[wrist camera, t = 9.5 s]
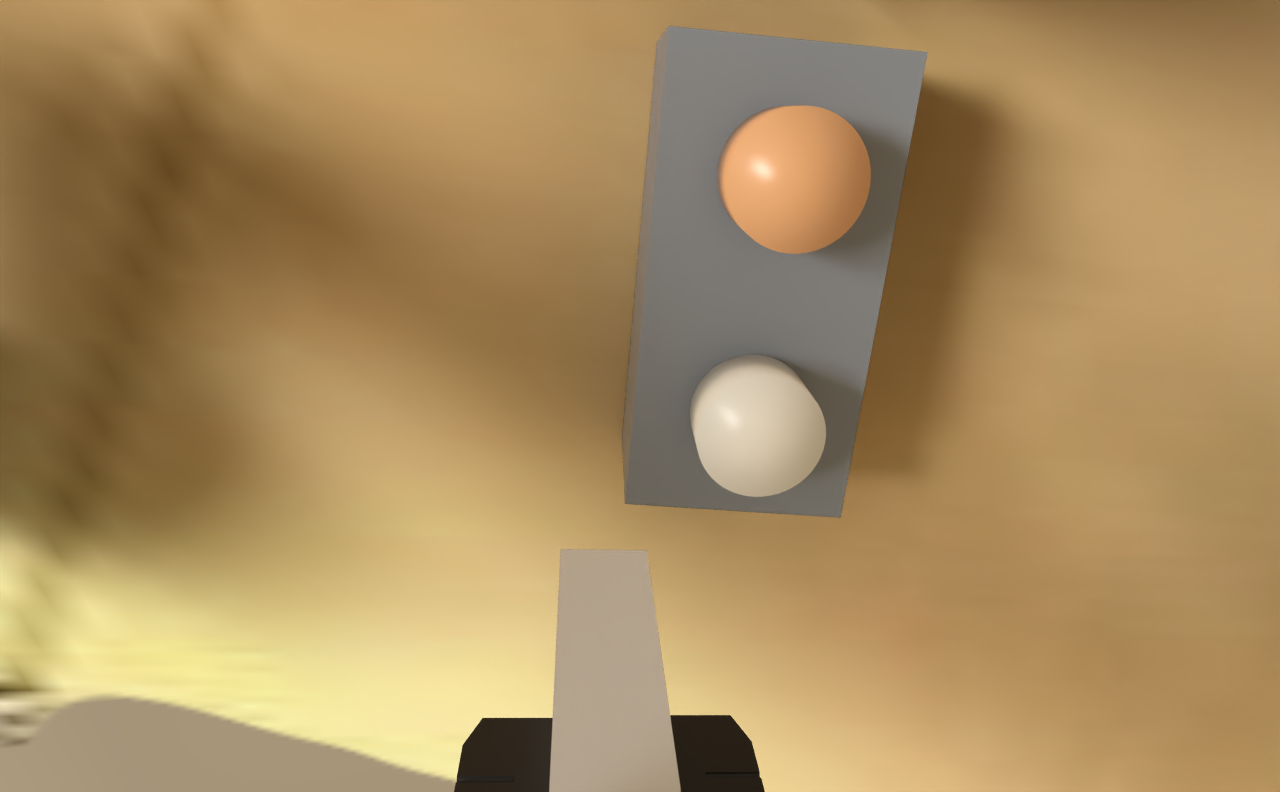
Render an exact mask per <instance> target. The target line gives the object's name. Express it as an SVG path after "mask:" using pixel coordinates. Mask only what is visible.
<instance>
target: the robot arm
mask: <svg viewBox="0 0 1280 792" xmlns="http://www.w3.org/2000/svg"><path fill="white" fill-rule="evenodd" d="M454 792H765V791H764V787H763V783H762V780H761V778H760V775H759V768H758V764H757V761H756V757H755V753H754V749H753V745H752V742H751V740H750V739H749V738H748V737H747V735H746V734H745V733H744V732H743V730H742V729H741V728H740V727H739V725H738V724H737V723H736V722H735V721H734V719H733V718H732V717H731V716H730V715H670V711H669V704H668V697H667V690H666V683H665V676H664V669H663V662H662V655H661V648H660V641H659V634H658V627H657V620H656V613H655V606H654V599H653V592H652V585H651V578H650V571H649V564H648V557H647V550H586V549H561V556H560V576H559V597H558V618H557V639H556V660H555V681H554V702H553V718H482V720H481V721H480V723H479V724H478V725H477V727H476V728H475V729H474V731H473V732H472V733H471V735H470V736H469V737H468V739H467V740H466V742H465V743H464V744H463V747H462V752H461V758H460V763H459V769H458V774H457V783H456V785H455V791H454Z"/></svg>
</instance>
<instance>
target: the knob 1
mask: <svg viewBox="0 0 1280 792" xmlns="http://www.w3.org/2000/svg"><path fill="white" fill-rule="evenodd" d="M870 182H871V167H870V160H869V156H868V153H867V149H866V147H865V145H864V143H863V141H862V139H861V137H860V136H859V134H858V133H857V131H856V130H855V129H854V128H853V126H852V125H850V124H849V123H848V122H847V121H846V120H845V119H844V118H842V117H841V116H839V115H838V114H836V113H834V112H832V111H830V110H827V109H824V108H820V107H815V106H776V107H771V108H768V109H765V110H762V111H760V112H757V113H756V114H754V115H752V116H750V117H749V118H748V119H746V120H745V121H744V122H742V123H741V124H740V125H739V126H738V127H737V128H736V129H735V131H734V132H733V133H732V134H731V136H730V137H729V139H728V141H727V142H726V144H725V146H724V148H723V151H722V153H721V156H720V160H719V164H718V171H717V183H718V191H719V195H720V198H721V201H722V204H723V206H724V208H725V210H726V212H727V213H728V215H729V216H730V218H731V219H732V220H733V221H734V222H735V223H736V225H738V226H739V227H740V228H741V229H742V230H743V231H744V232H745V233H746V234H747V235H748V236H750V237H751V238H752V239H753V240H754V241H756V242H757V243H759V244H760V245H762V246H764V247H766V248H768V249H771V250H774V251H777V252H781V253H788V254H801V253H808V252H812V251H816V250H819V249H821V248H824V247H826V246H828V245H830V244H831V243H833V242H835V241H836V240H837V239H839V238H840V237H842V236H843V235H844V234H845V233H846V232H847V231H848V230H849V229H850V228H851V227H852V225H853V224H854V223H855V222H856V220H857V219H858V217H859V216H860V214H861V212H862V210H863V208H864V206H865V203H866V200H867V198H868V193H869V189H870Z"/></svg>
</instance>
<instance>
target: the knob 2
mask: <svg viewBox="0 0 1280 792" xmlns="http://www.w3.org/2000/svg"><path fill="white" fill-rule="evenodd" d="M690 423H691V427H692V431H693V435H694V439H695V443H696V447H697V450H698V454H699V458H700V460H701V463H702V465H703V467H704V468H705V470H706V472H707V473H708V474H709V475H710V477H711V478H712V479H713V480H714V481H715V482H716V483H718V484H719V485H720V486H722V487H723V488H725V489H727V490H729V491H731V492H734V493H736V494H740V495H744V496H751V497H764V496H771V495H775V494H779V493H781V492H784V491H787V490H789V489H791V488H793V487H794V486H796V485H797V484H799V483H800V482H801V481H802V480H804V479H805V478H806V477H807V476H808V475H809V474H810V473H811V472H812V470H813V469H814V468H815V466H816V465H817V463H818V461H819V459H820V458H821V455H822V452H823V450H824V446H825V440H826V425H825V420H824V416H823V413H822V411H821V409H820V407H819V405H818V403H817V402H816V401H815V399H814V398H813V396H812V395H811V393H810V392H809V391H808V389H807V388H806V386H805V385H804V384H803V382H802V381H801V379H800V378H799V377H798V375H797V374H796V373H795V372H794V371H793V370H792V369H791V368H790V367H789V366H787V365H786V364H784V363H783V362H781V361H779V360H777V359H774V358H771V357H768V356H763V355H742V356H738V357H734V358H731V359H728V360H726V361H724V362H722V363H720V364H718V365H717V366H715V367H714V368H713V369H711V370H710V371H709V372H708V373H707V374H706V375H705V376H704V377H703V379H702V380H701V381H700V383H699V384H698V386H697V388H696V390H695V392H694V394H693V397H692V400H691V405H690Z"/></svg>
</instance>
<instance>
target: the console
mask: <svg viewBox="0 0 1280 792" xmlns="http://www.w3.org/2000/svg"><path fill="white" fill-rule="evenodd" d="M927 53H928V52H922V51H912V50H902V49H892V48H882V47H872V46H862V45H852V44H842V43H832V42H822V41H813V40H803V39H793V38H783V37H773V36H763V35H753V34H743V33H733V32H723V31H713V30H704V29H694V28H684V27H674V26H669V27H668V28H667V29H666V31H665V32H664V33H663V34H662V36H661V37H660V38H659V40H658V41H657V47H656V58H655V70H654V81H653V92H652V104H651V115H650V126H649V138H648V149H647V160H646V172H645V183H644V194H643V206H642V217H641V228H640V240H639V251H638V262H637V274H636V285H635V296H634V308H633V319H632V330H631V342H630V353H629V364H628V376H627V387H626V398H625V410H624V421H623V432H622V448H623V471H624V494H625V504H634V505H650V506H666V507H682V508H697V509H713V510H729V511H744V512H760V513H776V514H792V515H807V516H823V517H839V518H840V517H841V512H842V506H843V501H844V496H845V490H846V485H847V480H848V474H849V469H850V464H851V458H852V453H853V448H854V442H855V437H856V432H857V426H858V421H859V416H860V410H861V405H862V400H863V394H864V389H865V384H866V378H867V373H868V368H869V362H870V357H871V351H872V346H873V341H874V335H875V330H876V325H877V319H878V314H879V309H880V303H881V298H882V293H883V287H884V282H885V277H886V271H887V266H888V261H889V255H890V250H891V245H892V239H893V234H894V229H895V223H896V218H897V213H898V207H899V202H900V197H901V191H902V186H903V181H904V175H905V170H906V165H907V159H908V154H909V149H910V143H911V138H912V133H913V127H914V122H915V117H916V111H917V106H918V101H919V95H920V90H921V85H922V79H923V74H924V69H925V63H926V58H927ZM776 106H815V107H820V108H824V109H827V110H830V111H832V112H834V113H836V114H838V115H839V116H841V117H842V118H844V119H845V120H846V121H847V122H848V123H849V124H850V125H852V126H853V128H854V129H855V130H856V131H857V133H858V134H859V136H860V137H861V139H862V141H863V143H864V145H865V147H866V149H867V153H868V156H869V160H870V167H871V182H870V189H869V193H868V198H867V200H866V203H865V206H864V208H863V210H862V212H861V214H860V216H859V217H858V219H857V220H856V222H855V223H854V224H853V225H852V227H851V228H850V229H849V230H848V231H847V232H846V233H845V234H844V235H843V236H842V237H840V238H839V239H837V240H836V241H835V242H833V243H831V244H830V245H828V246H826V247H824V248H821V249H819V250H816V251H812V252H808V253H801V254H788V253H781V252H777V251H774V250H771V249H768V248H766V247H764V246H762V245H760V244H759V243H757V242H756V241H754V240H753V239H752V238H751V237H750V236H748V235H747V234H746V233H745V232H744V231H743V230H742V229H741V228H740V227H739V226H738V225H736V223H735V222H734V221H733V220H732V219H731V218H730V216H729V215H728V213H727V212H726V210H725V208H724V206H723V204H722V201H721V198H720V195H719V191H718V183H717V171H718V164H719V160H720V156H721V153H722V151H723V148H724V146H725V144H726V142H727V141H728V139H729V137H730V136H731V134H732V133H733V132H734V131H735V129H736V128H737V127H738V126H739V125H740V124H741V123H742V122H744V121H745V120H746V119H748V118H749V117H750V116H752V115H754V114H756V113H757V112H760V111H762V110H765V109H768V108H771V107H776ZM742 355H763V356H768V357H771V358H774V359H777V360H779V361H781V362H783V363H784V364H786V365H787V366H789V367H790V368H791V369H792V370H793V371H794V372H795V373H796V374H797V375H798V377H799V378H800V379H801V381H802V382H803V384H804V385H805V386H806V388H807V389H808V391H809V392H810V393H811V395H812V396H813V398H814V399H815V401H816V402H817V403H818V405H819V407H820V409H821V411H822V413H823V416H824V420H825V425H826V440H825V446H824V450H823V452H822V455H821V458H820V459H819V461H818V463H817V465H816V466H815V468H814V469H813V470H812V472H811V473H810V474H809V475H808V476H807V477H806V478H805V479H804V480H802V481H801V482H800V483H799V484H797V485H796V486H794V487H793V488H791V489H789V490H787V491H784V492H781V493H779V494H775V495H771V496H764V497H751V496H744V495H740V494H736V493H734V492H731V491H729V490H727V489H725V488H723V487H722V486H720V485H719V484H718V483H716V482H715V481H714V480H713V479H712V478H711V477H710V475H709V474H708V473H707V472H706V470H705V468H704V467H703V465H702V463H701V460H700V458H699V454H698V450H697V447H696V443H695V439H694V435H693V431H692V427H691V423H690V405H691V400H692V397H693V394H694V392H695V390H696V388H697V386H698V384H699V383H700V381H701V380H702V379H703V377H704V376H705V375H706V374H707V373H708V372H709V371H710V370H711V369H713V368H714V367H715V366H717V365H718V364H720V363H722V362H724V361H726V360H728V359H731V358H734V357H738V356H742Z"/></svg>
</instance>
